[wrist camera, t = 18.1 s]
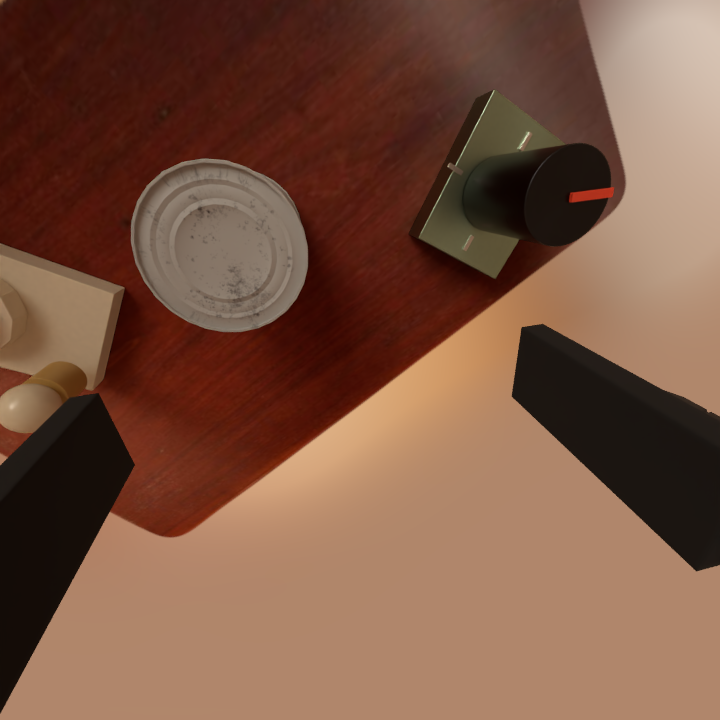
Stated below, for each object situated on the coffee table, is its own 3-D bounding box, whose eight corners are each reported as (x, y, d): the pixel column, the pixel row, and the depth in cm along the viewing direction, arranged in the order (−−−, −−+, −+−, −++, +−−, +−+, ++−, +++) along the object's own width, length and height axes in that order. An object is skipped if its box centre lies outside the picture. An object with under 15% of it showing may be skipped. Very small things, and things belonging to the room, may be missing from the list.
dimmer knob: (461, 235, 31) (522, 253, 23) (463, 159, 29) (533, 147, 20) (523, 227, 32) (604, 240, 24) (531, 151, 29) (625, 137, 21)
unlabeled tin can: (178, 263, 31) (118, 304, 20) (202, 147, 28) (145, 122, 17) (284, 298, 34) (281, 350, 23) (316, 198, 31) (331, 204, 20)
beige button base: (-55, 223, 27) (-106, 229, 23) (125, 287, 31) (104, 300, 28) (-60, 335, 30) (-106, 355, 27) (103, 379, 34) (82, 401, 31)
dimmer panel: (470, 93, 29) (489, 83, 26) (555, 156, 33) (580, 154, 30) (402, 231, 33) (413, 235, 30) (484, 274, 37) (500, 282, 34)
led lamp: (43, 352, 29) (-18, 393, 23) (94, 366, 30) (47, 409, 24) (37, 388, 30) (-22, 436, 24) (86, 400, 31) (40, 448, 25)
